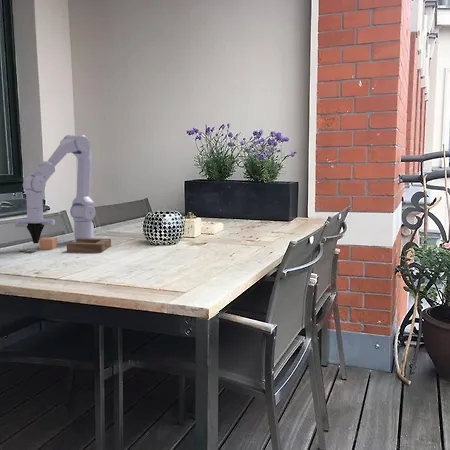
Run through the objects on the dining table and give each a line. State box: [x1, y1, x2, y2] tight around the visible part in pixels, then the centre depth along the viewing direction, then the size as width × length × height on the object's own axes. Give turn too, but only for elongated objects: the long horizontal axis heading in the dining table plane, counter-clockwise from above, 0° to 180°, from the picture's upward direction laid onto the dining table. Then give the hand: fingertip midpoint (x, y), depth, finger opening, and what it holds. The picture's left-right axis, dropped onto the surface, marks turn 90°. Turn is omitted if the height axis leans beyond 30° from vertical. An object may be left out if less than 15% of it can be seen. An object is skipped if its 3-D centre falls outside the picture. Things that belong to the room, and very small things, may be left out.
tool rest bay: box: [66, 237, 112, 254], centre depth 197 cm, size 14×13×3 cm
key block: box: [38, 236, 58, 250], centre depth 197 cm, size 5×5×4 cm
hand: (36, 243), depth 198 cm, fingers closed
